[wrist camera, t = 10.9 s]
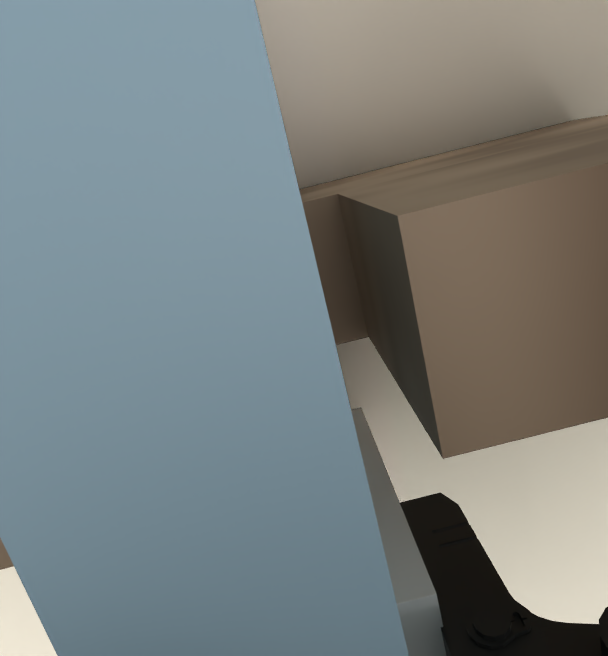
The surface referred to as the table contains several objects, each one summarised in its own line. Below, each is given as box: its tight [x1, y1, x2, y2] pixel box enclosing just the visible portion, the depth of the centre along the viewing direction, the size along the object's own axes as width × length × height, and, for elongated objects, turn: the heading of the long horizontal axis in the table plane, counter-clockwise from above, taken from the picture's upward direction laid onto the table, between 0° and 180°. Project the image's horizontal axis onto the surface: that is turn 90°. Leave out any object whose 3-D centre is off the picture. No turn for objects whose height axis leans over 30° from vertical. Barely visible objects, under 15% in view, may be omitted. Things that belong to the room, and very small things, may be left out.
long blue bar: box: [0, 0, 409, 656], centre depth 9 cm, size 3×16×10 cm, turn 14°
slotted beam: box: [0, 115, 608, 570], centre depth 11 cm, size 20×3×10 cm, turn 104°
